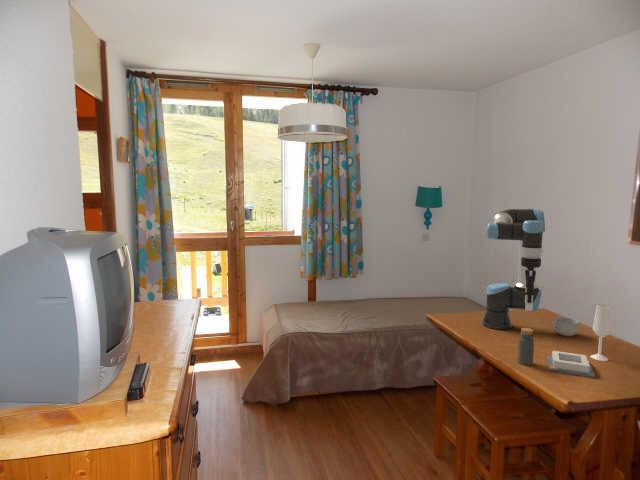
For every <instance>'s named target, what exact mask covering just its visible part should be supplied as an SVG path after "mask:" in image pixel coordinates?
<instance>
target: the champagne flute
mask: <svg viewBox="0 0 640 480" xmlns="http://www.w3.org/2000/svg"><path fill="white" fill-rule="evenodd" d="M592 331H593V332H594V335H596V336H598V337H599V338H598V346H597V347H598V349H597V350H598V351H597V353H595V354H592V355H590V358H591V359H593V360H596V361H601V362H607V361H608V360H609V358H608V357H606V356H605V355H603V354H602V349H603V348H602V346H603V338H605V337H607V336H608V335H609V334H610V333H611V332H612V331H611V307H610V305H608V304H603V303H602V304H601V303H600V304H596V308H595V314H594V319H593V325H592Z"/></svg>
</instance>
